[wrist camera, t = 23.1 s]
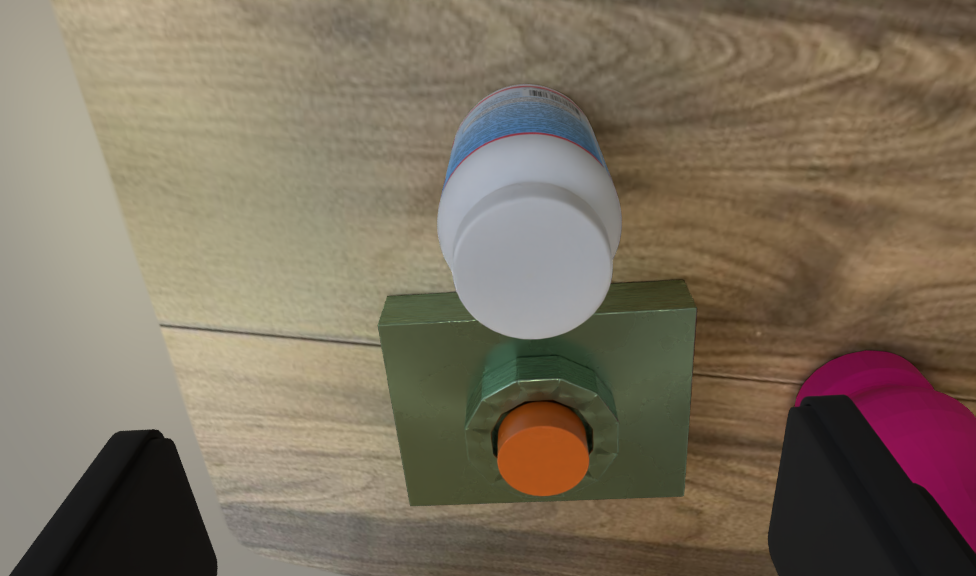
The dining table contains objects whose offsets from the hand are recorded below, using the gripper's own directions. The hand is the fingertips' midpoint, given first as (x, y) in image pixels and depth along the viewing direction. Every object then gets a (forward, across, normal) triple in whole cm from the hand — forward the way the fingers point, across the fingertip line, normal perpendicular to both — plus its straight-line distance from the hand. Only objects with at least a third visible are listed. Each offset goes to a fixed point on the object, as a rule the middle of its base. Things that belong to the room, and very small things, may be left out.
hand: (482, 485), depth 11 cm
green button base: (+21, -2, +13) cm, 25 cm away
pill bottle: (+21, -1, +1) cm, 21 cm away
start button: (+17, -1, +13) cm, 22 cm away
